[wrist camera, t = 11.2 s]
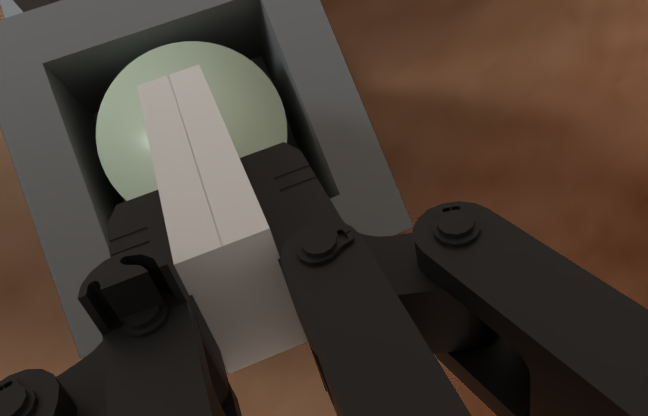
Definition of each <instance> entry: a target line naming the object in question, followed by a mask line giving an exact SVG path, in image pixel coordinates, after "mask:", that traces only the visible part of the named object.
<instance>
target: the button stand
mask: <svg viewBox="0 0 648 416" xmlns="http://www.w3.org/2000/svg"><path fill="white" fill-rule="evenodd" d="M0 5H1V8H2V11H3V13H4V16H5V18H4V19H1V20H0V127H1V130H2V133H3V136H4V138H5V141H6V144H7V147H8V150H9V153H10V156H11V159H12V162H13V165H14V168H15V170H16V173H17V176H18V179H19V182H20V185H21V188H22V191H23V194H24V197H25V200H26V202H27V205H28V208H29V211H30V214H31V217H32V220H33V223H34V226H35V229H36V232H37V235H38V237H39V240H40V243H41V246H42V249H43V252H44V255H45V258H46V261H47V264H48V267H49V269H50V272H51V275H52V278H53V281H54V284H55V287H56V290H57V293H58V296H59V299H60V301H61V304H62V307H63V310H64V313H65V316H66V319H67V322H68V325H69V328H70V331H71V333H72V336H73V339H74V342H75V345H76V348H77V351H78V354H79V357H80V358H83V357H86V356H87V355H89V354H90V353H91V352H92V351H94V349H95V348H96V347H97V346H98V345H99V344H100V343H101V342H102V341H103V337H102V334H101V332H100V331H99V329H98V328H97V327H96V325H95V324H94V322H93V321H92V319H91V318H90V316H89V315H88V313H87V312H86V310H85V309H84V308H83V306H82V305H81V303H80V302H79V300H78V299H77V298H78V294H79V290H80V286H81V284H82V283H83V281H84V280H85V279H86V277H87V276H88V274H89V273H90V272H91V271H92V270H93V269H95V268H96V267H97V266H98V265H100V264H101V263H102V262H103V261H105V260H107V259H109V258H111V256H110V250H109V244H110V243H109V238H108V225H107V223H108V221H109V219H110V217H111V215H112V213H113V211H114V209H115V207H116V205H117V204H120V203H123V202H125V201H126V200H125V199H124V198H123V197H122V196H121V195H120V194H119V193H118V192H117V190H116V189H115V188H114V187H113V185H112V184H111V182H110V181H109V179H108V177H107V176H106V174H105V172H104V169H103V167H102V165H101V162H100V158H99V155H98V151H97V144H96V124H97V116H98V112H99V109H100V105H101V103H102V100H103V98H104V96H105V93H106V92H107V90H108V88H109V87H110V85H111V83H112V82H113V81H114V79H115V78H116V77H117V76H118V74H119V73H120V72H121V71H122V70H123V69H124V68H125V67H126V66H127V65H128V64H130V63H131V62H132V61H134V60H135V59H136V58H138V57H139V56H141V55H143V54H145V53H146V52H148V51H150V50H153V49H155V48H158V47H160V46H164V45H167V44H171V43H177V42H184V41H199V42H209V43H213V44H217V45H221V46H224V47H227V48H230V49H232V50H234V51H236V52H238V53H240V54H242V55H244V56H245V57H246V58H248V59H249V60H251V61H252V62H254V63H255V64H256V65H257V66H258V67H259V68H260V69H261V70H262V71H263V72H264V73H265V74H266V75H267V77H268V78H269V79H270V80H271V82H272V84H273V85H274V87H275V88H276V90H277V92H278V94H279V96H280V98H281V101H282V104H283V107H284V110H285V115H286V121H287V144H289V145H291V146H293V147H295V148H297V149H299V150H301V152H302V153H303V155H304V157H305V158H306V160H307V162H308V163H309V165H310V168H312V170H313V172H314V173H315V175H316V177H317V179H318V180H319V182H320V183H321V185H322V187H323V188H324V190H325V192H326V193H327V195H328V197H329V198H330V200H331V202H332V203H333V205H334V207H335V208H336V210H337V212H338V213H339V215H340V217H341V218H342V220H343V221H344V222H345V224H347V225H350V226H352V227H353V228H354V229H355V230H356V231H357V232H359V233H362V234H365V235H369V236H378V237H381V236H395V235H399V234H401V233H402V232H404V231H406V230H408V229H410V228H412V227H414V226H413V224H412V222H411V219H410V217H409V214H408V212H407V209H406V207H405V205H404V202H403V200H402V197H401V195H400V193H399V190H398V188H397V185H396V183H395V180H394V178H393V176H392V173H391V171H390V168H389V166H388V163H387V161H386V159H385V156H384V154H383V151H382V149H381V147H380V144H379V142H378V139H377V137H376V134H375V132H374V130H373V127H372V125H371V122H370V120H369V117H368V115H367V113H366V110H365V108H364V105H363V103H362V101H361V98H360V96H359V93H358V91H357V88H356V86H355V84H354V81H353V79H352V76H351V74H350V72H349V69H348V67H347V64H346V62H345V59H344V57H343V55H342V52H341V50H340V47H339V45H338V42H337V40H336V38H335V35H334V33H333V30H332V28H331V26H330V23H329V21H328V18H327V16H326V13H325V11H324V9H323V6H322V4H321V1H320V0H0Z"/></svg>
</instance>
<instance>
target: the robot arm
mask: <svg viewBox="0 0 648 416" xmlns="http://www.w3.org/2000/svg"><path fill="white" fill-rule="evenodd" d="M137 89H138V94H139V99H140V104H141V108H142V113H143V118H144V123H145V128H146V133H147V138H148V142H149V147H150V152H151V157H152V162H153V167H154V172H155V176H156V181H157V186H158V190H156V191H153V192H150V193H147V194H145V195H142V196H139V197H136V198H134V199H131V200H128V201H125V202H123V203H120V204H117V205H116V207H115V209H114V211H113V213H112V215H111V217H110V219H109V221H108V223H107V225H108V238H109V243H110V244H109V250H110V256H111V258H109V259H107V260H105V261H103V262H102V263H101V264H100V265H98V266H97V267H96V268H95V269H93V270H92V271H91V272H90V273H89V274H88V276H87V277H86V279H85V280H84V281H83V283H82V284H81V286H80V290H79V294H78V298H77V299H78V300H79V302H80V303H81V305H82V306H83V308H84V309H85V310H86V312H87V313H88V315H89V316H90V318H91V319H92V321H93V322H94V324H95V325H96V327H97V328H98V329H99V331H100V332H101V334H102V337H103V341H102V342H101V343H100V344H99V345H98V346H97V347H96V348H95V349H94V351H92V352H91V353H90V354H89V355H87V356H86V357H85V358H84V359H82V360H81V361H80V362H78V363H77V364H75V365H74V366H72V367H71V368H69V369H68V370H66V371H65V372H63V373H62V374H60V375H59V376H57V377H55V376H54V375H53V374H52V373H49V372H47V371H45V370H43V369H28V370H24V371H21V372H18V373H15V374H13V375H10V376H8V377H6V378H5V379H3V380H2V381H0V416H242V415H241V411H240V407H239V403H238V400H237V398H236V396H235V394H234V392H233V390H232V388H231V386H230V384H229V382H228V378H227V374H226V370H225V366H226V368H227V370H228V372H229V374H231V373H233V372H235V371H238V370H240V369H243V368H245V367H248V366H250V365H253V364H255V363H257V362H260V361H262V360H265V359H267V358H270V357H272V356H274V355H277V354H279V353H282V352H284V351H287V350H289V349H291V348H294V347H296V346H299V345H301V344H304V343H306V342H309V345H310V347H311V350H312V353H313V356H314V359H315V361H316V364H317V367H318V370H319V373H320V376H321V379H322V381H323V384H324V387H325V390H326V391H327V392H328V394H329V396H330V399H331V401H332V404H333V406H334V409H335V411H336V414H337V416H471V415H470V413H469V411H468V410H467V408H466V406H465V405H464V403H463V401H462V400H461V398H460V397H459V395H458V393H457V392H456V390H455V388H454V387H453V385H452V384H451V382H450V380H449V379H448V377H447V375H446V374H445V372H444V371H443V369H442V367H441V366H440V364H439V362H438V361H437V359H436V357H437V358H438V359H439V360H440V361H441V362H442V363H443V364H444V365H445V366H446V367H447V368H448V369H449V370H450V371H451V372H452V373H453V374H454V375H455V376H456V377H457V378H458V379H459V380H461V381H462V382H463V383H464V384H465V385H466V386H467V387H468V388H469V389H470V390H471V391H472V392H473V393H474V394H475V395H476V396H477V397H478V398H479V399H480V400H481V401H482V402H483V403H485V404H486V405H487V406H488V407H489V408H490V409H491V410H492V411H493V412H494V413H495V414H496V415H497V416H648V310H647V309H646V308H644V307H642V306H641V305H639V304H638V303H636V302H635V301H633V300H631V299H630V298H628V297H627V296H625V295H624V294H622V293H620V292H619V291H617V290H616V289H614V288H612V287H611V286H609V285H608V284H606V283H605V282H603V281H601V280H600V279H598V278H597V277H595V276H594V275H592V274H590V273H589V272H587V271H586V270H584V269H583V268H581V267H579V266H578V265H576V264H575V263H573V262H571V261H570V260H568V259H567V258H565V257H564V256H562V255H560V254H559V253H557V252H556V251H554V250H553V249H551V248H549V247H548V246H546V245H545V244H543V243H541V242H540V241H538V240H537V239H535V238H534V237H532V236H530V235H529V234H527V233H526V232H524V231H523V230H521V229H519V228H518V227H516V226H515V225H513V224H511V223H510V222H508V221H507V220H505V219H504V218H502V217H500V216H499V215H497V214H496V213H494V212H493V211H491V210H489V209H487V208H485V207H482V206H480V205H478V204H475V203H467V202H452V203H445V204H441V205H438V206H436V207H434V208H431V209H429V210H427V211H426V212H425V213H424V214H423V215H422V216H421V217H419V218H418V219H417V222H416V224H415V226H414V228H413V233H409V234H402V235H395V236H381V237H378V236H369V235H365V234H362V233H359V232H357V231H356V230H355V229H354V228H353V227H352V226H350V225H347V224H345V222H344V221H343V220H342V218H341V217H340V215H339V213H338V212H337V210H336V208H335V207H334V205H333V203H332V202H331V200H330V198H329V197H328V195H327V193H326V192H325V190H324V188H323V187H322V185H321V183H320V182H319V180H318V179H317V177H316V175H315V173H314V172H313V170H312V168H310V165H309V163H308V162H307V160H306V158H305V157H304V155H303V153H302V152H301V150H299V149H297V148H295V147H293V146H291V145H289V144H287V143H285V142H282V143H280V144H277V145H274V146H271V147H269V148H266V149H263V150H260V151H258V152H255V153H252V154H249V155H247V156H244V157H241V158H239V156H238V154H237V151H236V149H235V147H234V144H233V142H232V140H231V137H230V135H229V133H228V130H227V128H226V126H225V123H224V121H223V119H222V116H221V114H220V112H219V109H218V107H217V105H216V102H215V100H214V98H213V96H212V93H211V91H210V89H209V86H208V84H207V82H206V79H205V77H204V75H203V72H202V70H201V68H200V65H196V66H193V67H190V68H187V69H184V70H181V71H178V72H175V73H172V74H169V75H166V76H164V77H161V78H158V79H155V80H152V81H149V82H146V83H143V84H140V85H137ZM434 354H435V355H436V357H435V356H434ZM224 364H225V366H224Z"/></svg>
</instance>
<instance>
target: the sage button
mask: <svg viewBox="0 0 648 416" xmlns="http://www.w3.org/2000/svg"><path fill="white" fill-rule="evenodd" d="M196 65H200V68H201V70H202V72H203V75H204V77H205V79H206V82H207V84H208V86H209V89H210V91H211V93H212V96H213V98H214V100H215V102H216V105H217V107H218V109H219V112H220V114H221V116H222V119H223V121H224V123H225V126H226V128H227V130H228V133H229V135H230V137H231V140H232V142H233V144H234V147H235V149H236V151H237V154H238V156H239V158H241V157H244V156H247V155H249V154H252V153H255V152H258V151H260V150H263V149H266V148H269V147H271V146H274V145H277V144H280V143H282V142H285V143H287V121H286V115H285V110H284V107H283V104H282V101H281V98H280V96H279V94H278V92H277V90H276V88H275V87H274V85H273V84H272V82H271V80H270V79H269V78H268V77H267V75H266V74H265V73H264V72H263V71H262V70H261V69H260V68H259V67H258V66H257V65H256V64H255V63H254V62H252V61H251V60H249V59H248V58H246V57H245V56H244V55H242V54H240V53H238V52H236V51H234V50H232V49H230V48H227V47H224V46H221V45H217V44H213V43H209V42H199V41H184V42H177V43H171V44H167V45H164V46H160V47H158V48H155V49H153V50H150V51H148V52H146V53H145V54H143V55H141V56H139V57H138V58H136V59H135V60H134V61H132V62H131V63H130V64H128V65H127V66H126V67H125V68H124V69H123V70H122V71H121V72H120V73H119V74H118V76H117V77H116V78H115V79H114V81H113V82H112V83H111V85H110V87H109V88H108V90H107V92H106V93H105V96H104V98H103V100H102V103H101V105H100V109H99V112H98V116H97V124H96V144H97V151H98V155H99V158H100V162H101V165H102V167H103V169H104V172H105V174H106V176H107V177H108V179H109V181H110V182H111V184H112V185H113V187H114V188H115V189H116V190H117V192H118V193H119V194H120V195H121V196H122V197H123V198H124V199H125V200H126V201H128V200H131V199H134V198H136V197H139V196H142V195H145V194H147V193H150V192H153V191H156V190H158V186H157V181H156V176H155V172H154V167H153V162H152V157H151V152H150V147H149V142H148V138H147V133H146V128H145V123H144V118H143V113H142V108H141V104H140V99H139V94H138V89H137V85H140V84H143V83H146V82H149V81H152V80H155V79H158V78H161V77H164V76H166V75H169V74H172V73H175V72H178V71H181V70H184V69H187V68H190V67H193V66H196Z"/></svg>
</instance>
